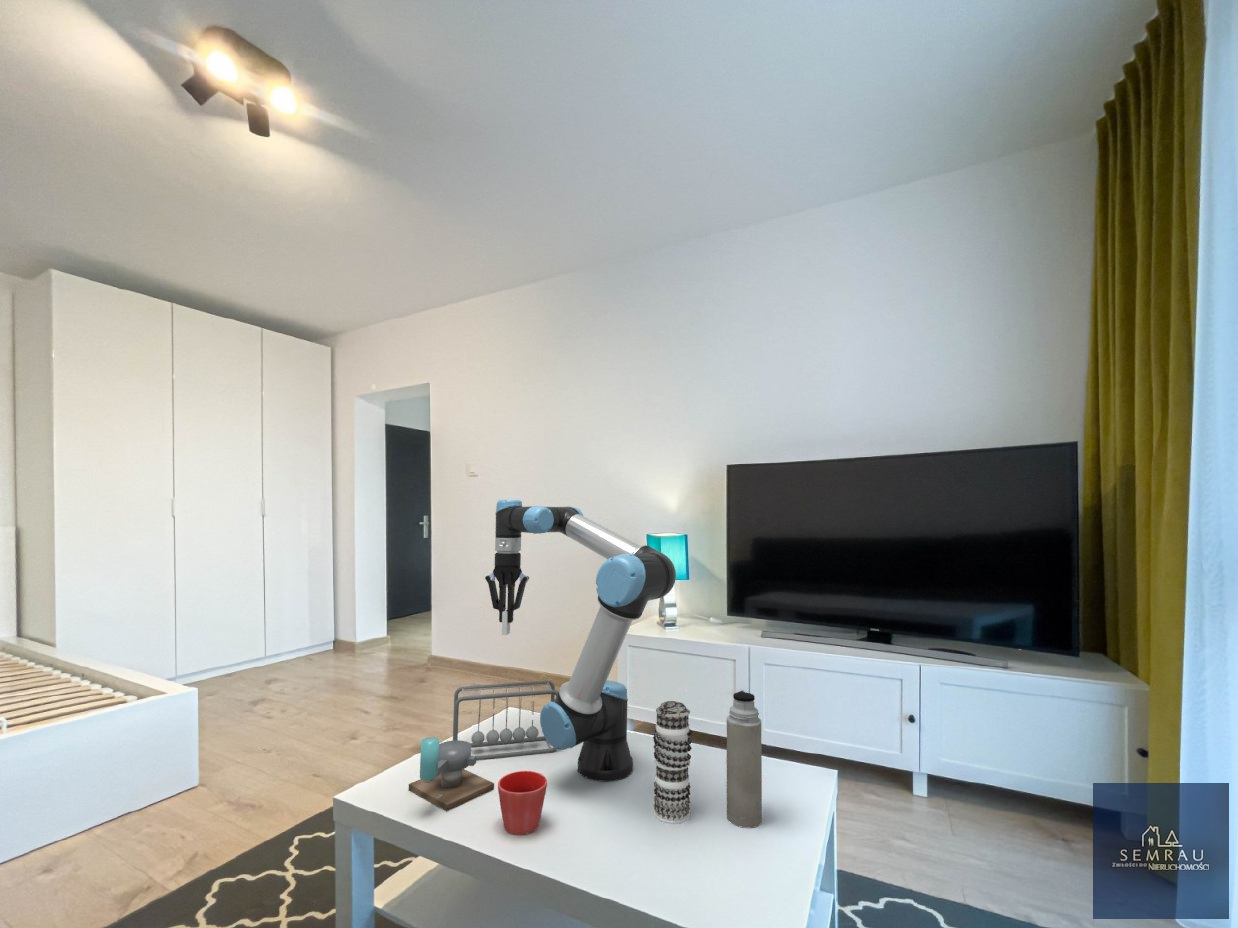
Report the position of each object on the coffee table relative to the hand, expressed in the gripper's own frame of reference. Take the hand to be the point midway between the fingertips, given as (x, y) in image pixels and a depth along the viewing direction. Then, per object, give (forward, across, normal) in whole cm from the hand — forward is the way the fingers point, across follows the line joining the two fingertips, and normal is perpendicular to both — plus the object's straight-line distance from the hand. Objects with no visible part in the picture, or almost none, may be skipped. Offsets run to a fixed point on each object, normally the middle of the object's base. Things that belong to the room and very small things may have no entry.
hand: (505, 633), depth 169 cm
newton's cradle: (+35, -1, +4) cm, 35 cm away
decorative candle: (+35, +50, -23) cm, 65 cm away
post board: (+34, -6, -22) cm, 41 cm away
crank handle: (+28, -6, -26) cm, 39 cm away
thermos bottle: (+35, +67, -22) cm, 78 cm away
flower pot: (+35, +17, -34) cm, 52 cm away
